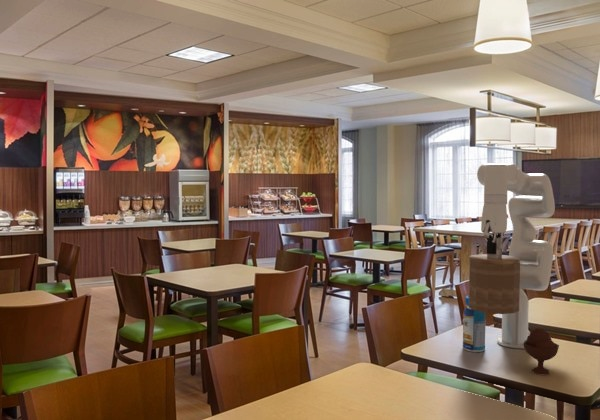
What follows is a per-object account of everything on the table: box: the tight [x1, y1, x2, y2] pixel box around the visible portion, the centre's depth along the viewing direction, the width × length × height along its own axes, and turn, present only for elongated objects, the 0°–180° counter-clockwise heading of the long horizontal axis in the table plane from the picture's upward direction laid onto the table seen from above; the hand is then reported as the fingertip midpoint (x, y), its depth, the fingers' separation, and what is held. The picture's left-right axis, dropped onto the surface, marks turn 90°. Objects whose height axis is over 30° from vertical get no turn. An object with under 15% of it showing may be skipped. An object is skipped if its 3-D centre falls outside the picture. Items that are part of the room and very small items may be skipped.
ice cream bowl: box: [523, 327, 560, 376], centre depth 182 cm, size 11×11×15 cm
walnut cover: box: [468, 237, 521, 315], centre depth 188 cm, size 17×17×24 cm
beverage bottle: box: [462, 295, 487, 353], centre depth 206 cm, size 8×8×20 cm
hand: (494, 252), depth 188 cm, fingers closed on walnut cover, 3 cm apart
